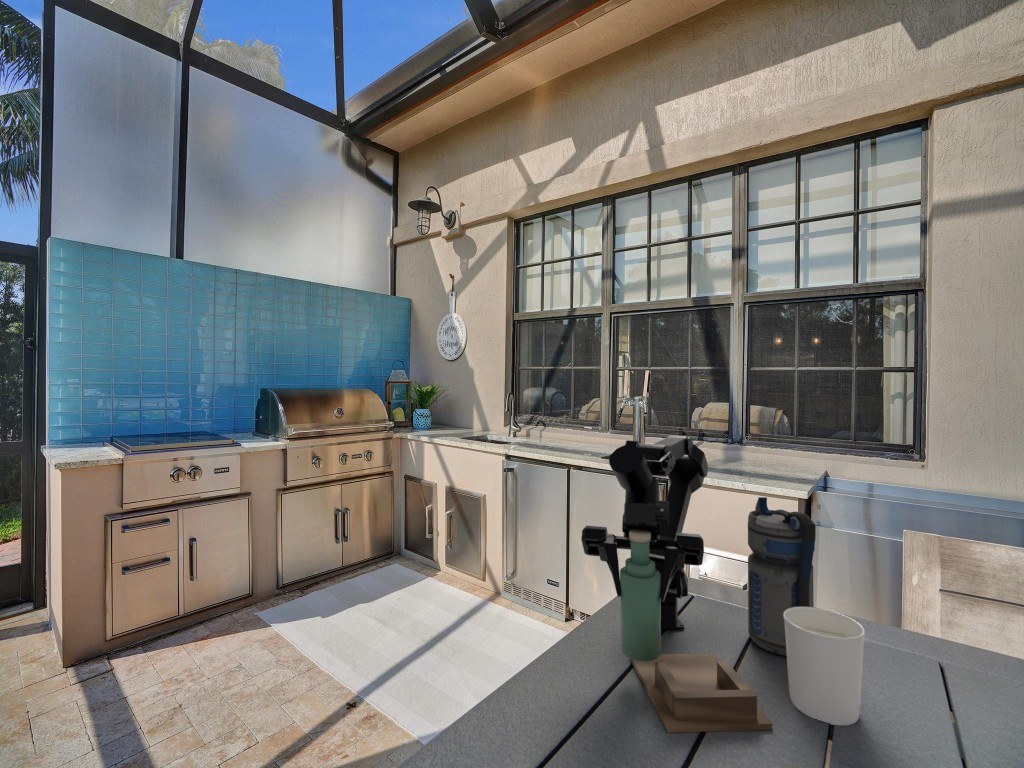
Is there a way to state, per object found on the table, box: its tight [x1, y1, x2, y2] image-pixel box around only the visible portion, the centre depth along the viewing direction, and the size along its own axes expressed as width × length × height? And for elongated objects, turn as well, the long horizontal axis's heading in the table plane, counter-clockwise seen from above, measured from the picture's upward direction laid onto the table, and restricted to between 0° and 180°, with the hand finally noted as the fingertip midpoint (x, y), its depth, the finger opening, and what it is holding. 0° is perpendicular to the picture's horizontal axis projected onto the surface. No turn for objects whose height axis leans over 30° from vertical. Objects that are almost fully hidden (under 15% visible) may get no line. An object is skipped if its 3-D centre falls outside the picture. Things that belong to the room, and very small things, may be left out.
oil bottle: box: [619, 529, 662, 661], centre depth 75 cm, size 6×6×18 cm
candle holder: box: [783, 607, 866, 727], centre depth 69 cm, size 10×10×12 cm
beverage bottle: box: [747, 496, 817, 657], centre depth 86 cm, size 10×13×25 cm
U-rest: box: [629, 652, 773, 733], centre depth 73 cm, size 18×14×4 cm
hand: (640, 598), depth 74 cm, fingers closed on oil bottle, 6 cm apart
